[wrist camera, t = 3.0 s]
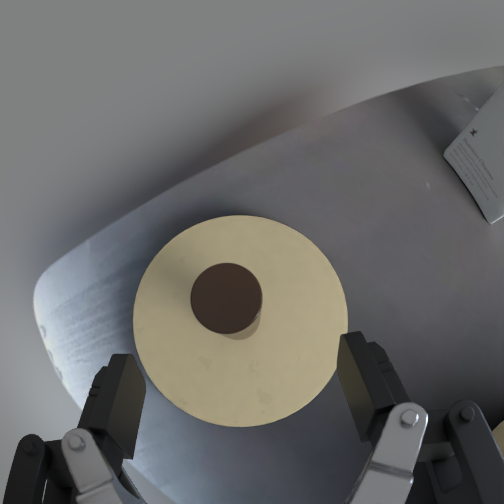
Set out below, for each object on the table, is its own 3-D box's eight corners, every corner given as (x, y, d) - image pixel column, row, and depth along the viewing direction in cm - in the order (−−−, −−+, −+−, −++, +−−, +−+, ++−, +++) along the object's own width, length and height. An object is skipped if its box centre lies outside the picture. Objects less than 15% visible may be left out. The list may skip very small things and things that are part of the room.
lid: (206, 456, 16) (175, 520, 8) (108, 285, 20) (34, 244, 11) (379, 346, 18) (456, 338, 10) (269, 189, 22) (275, 103, 13)
